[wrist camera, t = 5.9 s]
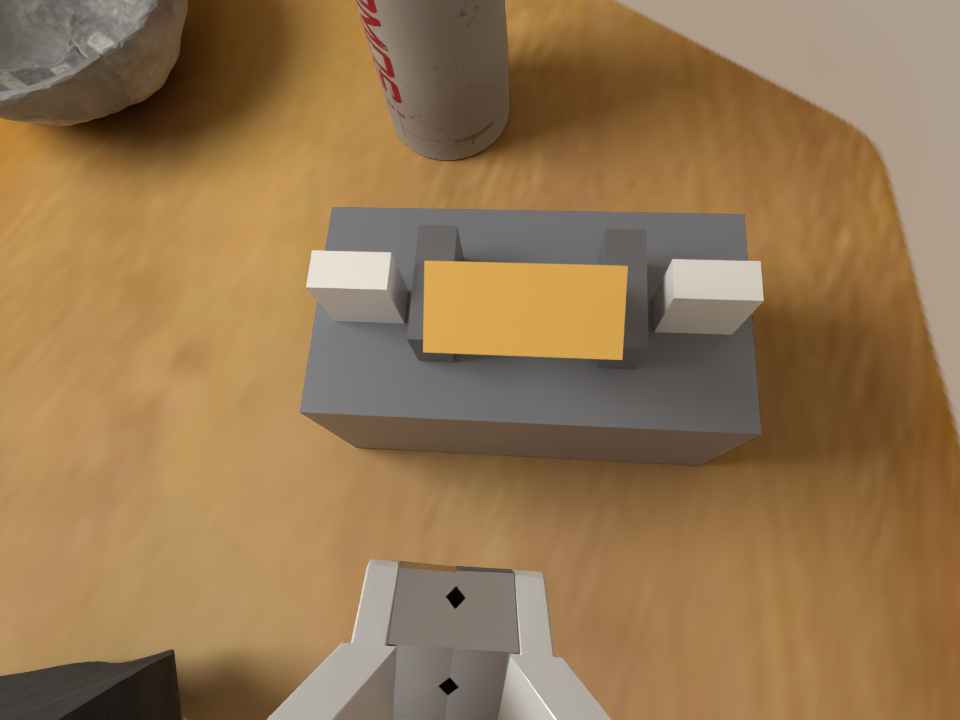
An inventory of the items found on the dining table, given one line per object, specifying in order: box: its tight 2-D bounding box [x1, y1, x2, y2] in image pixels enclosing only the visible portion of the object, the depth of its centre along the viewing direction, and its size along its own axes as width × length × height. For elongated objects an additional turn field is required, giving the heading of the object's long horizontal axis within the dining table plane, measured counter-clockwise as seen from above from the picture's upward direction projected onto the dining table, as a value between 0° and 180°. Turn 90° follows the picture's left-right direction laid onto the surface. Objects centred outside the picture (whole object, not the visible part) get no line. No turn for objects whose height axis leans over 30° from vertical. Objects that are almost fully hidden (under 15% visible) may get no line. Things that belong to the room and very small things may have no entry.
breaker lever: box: [423, 261, 628, 360], centre depth 21 cm, size 2×5×11 cm, turn 86°
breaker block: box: [300, 207, 764, 466], centre depth 29 cm, size 10×19×13 cm, turn 86°
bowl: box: [0, 0, 188, 126], centre depth 41 cm, size 18×18×8 cm
